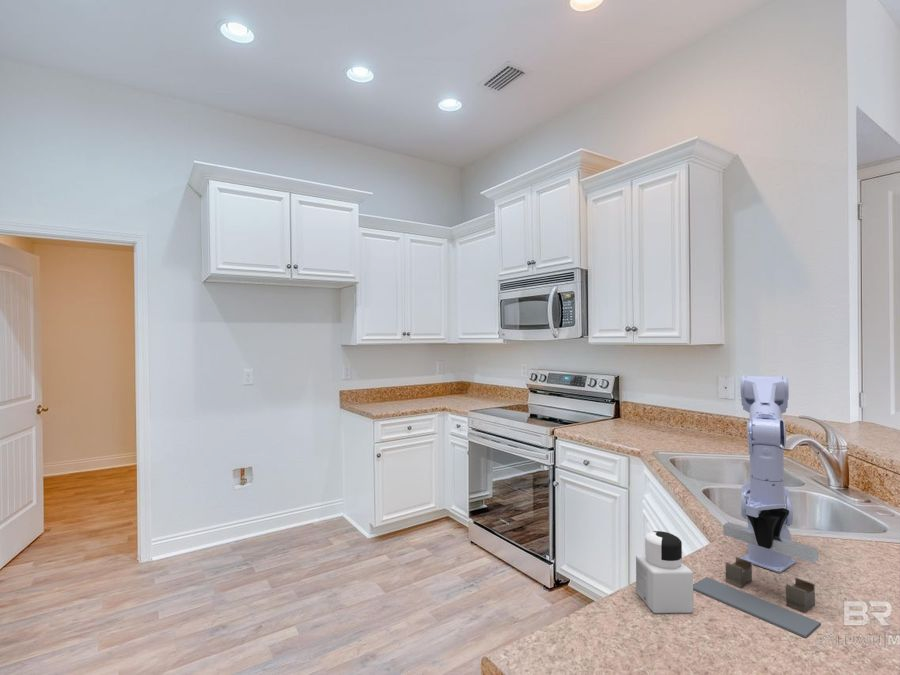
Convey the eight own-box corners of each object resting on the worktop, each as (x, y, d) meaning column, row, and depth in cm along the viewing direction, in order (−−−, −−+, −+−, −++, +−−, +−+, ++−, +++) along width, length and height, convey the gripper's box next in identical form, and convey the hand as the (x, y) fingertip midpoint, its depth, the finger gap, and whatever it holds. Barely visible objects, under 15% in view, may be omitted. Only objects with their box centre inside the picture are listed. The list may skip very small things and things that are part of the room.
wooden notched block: (736, 575, 100) (736, 557, 101) (752, 581, 98) (751, 562, 98) (725, 581, 98) (725, 562, 98) (741, 588, 95) (740, 568, 95)
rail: (728, 532, 101) (728, 522, 101) (818, 559, 88) (817, 548, 88) (723, 534, 99) (723, 524, 100) (813, 563, 86) (813, 551, 86)
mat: (706, 578, 99) (706, 576, 99) (820, 624, 83) (820, 622, 83) (689, 588, 95) (689, 586, 95) (805, 638, 79) (805, 636, 79)
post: (796, 598, 91) (796, 577, 92) (814, 604, 89) (814, 584, 89) (786, 605, 89) (786, 584, 89) (805, 613, 86) (804, 591, 86)
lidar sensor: (672, 591, 94) (672, 527, 94) (694, 613, 86) (693, 543, 86) (635, 592, 93) (634, 527, 94) (653, 614, 86) (652, 543, 86)
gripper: (760, 468, 101) (761, 530, 101) (728, 478, 93) (729, 546, 93) (798, 475, 96) (799, 541, 95) (768, 487, 87) (769, 559, 87)
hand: (767, 545), depth 94 cm, fingers closed on rail, 2 cm apart
